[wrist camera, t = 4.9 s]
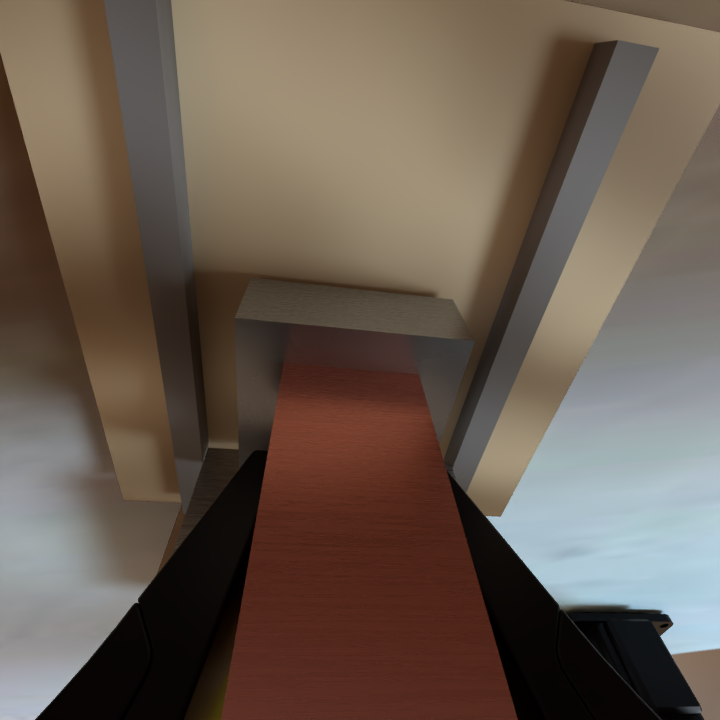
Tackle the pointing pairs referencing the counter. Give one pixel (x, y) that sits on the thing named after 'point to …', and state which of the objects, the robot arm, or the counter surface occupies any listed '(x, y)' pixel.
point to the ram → (353, 513)
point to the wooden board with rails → (347, 191)
